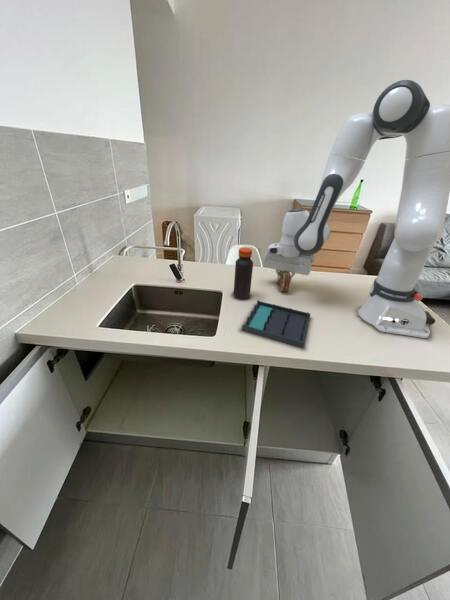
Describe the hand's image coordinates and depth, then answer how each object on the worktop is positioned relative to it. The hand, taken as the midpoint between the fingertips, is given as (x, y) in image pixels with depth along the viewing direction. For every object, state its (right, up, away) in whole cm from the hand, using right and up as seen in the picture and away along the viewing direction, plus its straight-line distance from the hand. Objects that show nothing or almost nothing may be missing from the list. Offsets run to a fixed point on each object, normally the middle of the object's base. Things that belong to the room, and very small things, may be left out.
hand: (283, 279), depth 108 cm
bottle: (-19, -7, -6) cm, 22 cm away
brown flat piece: (0, -3, +2) cm, 4 cm away
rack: (-8, -17, -22) cm, 29 cm away
